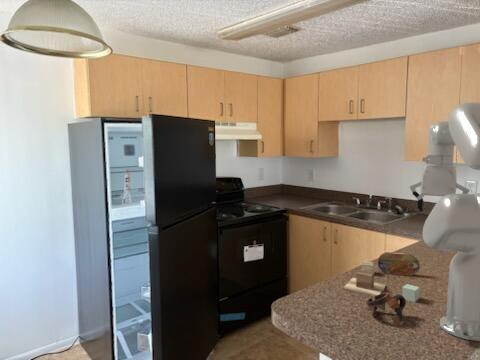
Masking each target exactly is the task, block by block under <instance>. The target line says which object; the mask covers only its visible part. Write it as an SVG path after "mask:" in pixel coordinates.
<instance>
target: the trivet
mask: <svg viewBox="0 0 480 360" xmlns="http://www.w3.org/2000/svg"><path fill="white" fill-rule="evenodd" d="M386 287H387V284H386V283H381V282H378V281H377V282H376V281H374V286H373V288H372V289H371V290H368V289H364V288H359V287H356V277H352V278H351V279H350V280H349V281H347V283H346V284H345V285H344V286H343V287H342V290H344V291H349V292H353V293H357V294H360V295H366V296H371V297H374V296H376V295H379V294H382V293H383V291H384V290H385V288H386Z"/></svg>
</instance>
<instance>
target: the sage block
mask: <svg viewBox="0 0 480 360" xmlns="http://www.w3.org/2000/svg"><path fill="white" fill-rule="evenodd" d="M401 295H402V296H403V297H404V298H405V301H408V302H412V303H416V302H417V301H418V300H419V299H420V286H416V285H412V284H408V283H406V284H405V285H403V286H402V291H401Z"/></svg>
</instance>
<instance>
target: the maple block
mask: <svg viewBox="0 0 480 360" xmlns="http://www.w3.org/2000/svg"><path fill="white" fill-rule="evenodd" d="M361 269H362V270H368V271H373V272H374V269H375V267H374V262H372V261H362V268H361Z"/></svg>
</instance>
